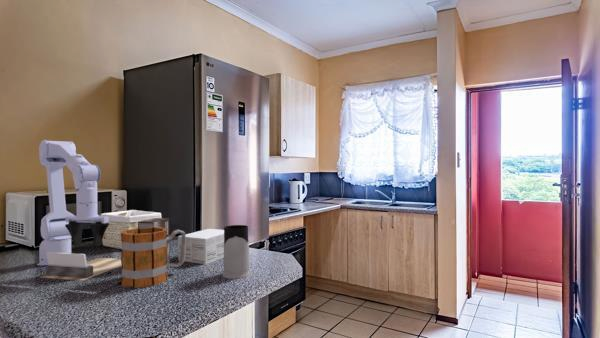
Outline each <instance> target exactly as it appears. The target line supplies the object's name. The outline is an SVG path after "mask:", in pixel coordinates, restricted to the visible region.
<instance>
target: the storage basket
mask: <svg viewBox="0 0 600 338" xmlns="http://www.w3.org/2000/svg"><path fill="white" fill-rule="evenodd" d="M100 216H108V217H109V226H108V227H107V229H106V231H105V233H104V236H103V239H102V245H103V247H108V248H112V249H118V250H122V239H121V233H122V231H124V230H130V229H135V228H138V222H140V221H144V220H148V219H152V218H163V217H162V213H161V212H155V211H145V210H137V209H129V210H121V211H113V212H112V211H111V212H104V213H100Z"/></svg>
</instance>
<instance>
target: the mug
mask: <svg viewBox="0 0 600 338" xmlns="http://www.w3.org/2000/svg"><path fill="white" fill-rule="evenodd" d="M166 234H167V228H161V227H147V228H135V229H130V230H124V231H122V233H121V239H122V249H121V254H120V259H121V264H122V266H121V282H120V286H122V287H126V288H131V289H137V288H139V289H140V288H146V287H154V286H157V285H159V284H161V283H165V282H167V281H168V276H169V275H168V269H167V267H168V268H169V267H171V268H174V267H175V268H178V267H180V266H182V265H183V264H184V262H185V261H184V260H185V253H186V232H185V231H184V230H180V229H175V230H173V231H172V232H171V233H169V236H168V237H166ZM177 234H181V235H180V236H182V243H181V258H180V261H179V260H178V262H177V263H174V262H170V263H166V262H167V244H166V241H169V242H170V241H171V240H173V238H174V237H176V235H177Z"/></svg>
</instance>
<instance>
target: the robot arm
mask: <svg viewBox="0 0 600 338" xmlns="http://www.w3.org/2000/svg"><path fill="white" fill-rule="evenodd" d="M76 151H77V148H76V144H75V143H74V142H73V140H70V141H61V140H47V139H43V140H42V141H41V142H40V144H39V148H38V154H39V162H40V165H42V166H44V167H45V172H46V178H47V180H46V181H47V188H48V189H47V190H48V193H47V194H48V204H49V212H48V213H47V214H45V216H43V217H42V218H41V221H40V236H41V238H42V241H41V243H39V250H38V251H39V263H37V264H36V265H37V266H49V265H48V259H47V254H46V253H47V252H57V253H72V243H73V246H79V245H82V240H83V229H84V226H85V223H88V224H89V223H91V224H89V227H90V229H91V232H92V237H93V239H92V241H93V246H94V247H98V246H99V247H100V246H102V244H103V241H102V239H103V236H104V233H105V231H106V229H107V227H108V226H109V217H108V216H101V215H100V214H98V183H99V182H100V180H101V175H102V174H101V173H102V172H101V169H100V167H99V165H98V164H91V163H90V162H89V161H88V160H87V158H85V157H84V156H83V155H82V154H80V153H77V152H76ZM64 167H67V169H68V170H70V172H71V173H72V180H73V183H74V189H76V193H75V194H76V197H75V198H76V215H75V214H73V213H72V212H70V211H68V210H67V204H66V193H65V182H64V170H63V168H64Z"/></svg>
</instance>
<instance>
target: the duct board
mask: <svg viewBox="0 0 600 338" xmlns="http://www.w3.org/2000/svg"><path fill="white" fill-rule="evenodd" d="M87 265H91V266H88V267H87V268H76V267H61V266H49V265H46V274H45V275H42V276H40V278H44V279H58V280H70V281H85V280H88V279H90V278H93V277H96V276H99V275H101V274H104V273H106V272H110V271H111V270H114V269H116V268H120V267H122V264H121V258H111V257H109V258H108V257H97V258H95V259H92V260H89V261H87Z"/></svg>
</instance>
